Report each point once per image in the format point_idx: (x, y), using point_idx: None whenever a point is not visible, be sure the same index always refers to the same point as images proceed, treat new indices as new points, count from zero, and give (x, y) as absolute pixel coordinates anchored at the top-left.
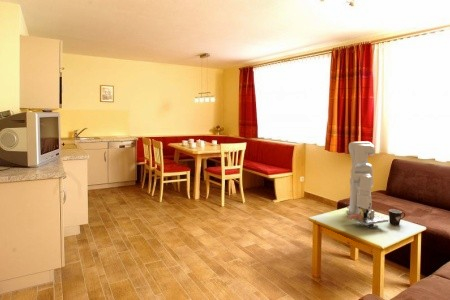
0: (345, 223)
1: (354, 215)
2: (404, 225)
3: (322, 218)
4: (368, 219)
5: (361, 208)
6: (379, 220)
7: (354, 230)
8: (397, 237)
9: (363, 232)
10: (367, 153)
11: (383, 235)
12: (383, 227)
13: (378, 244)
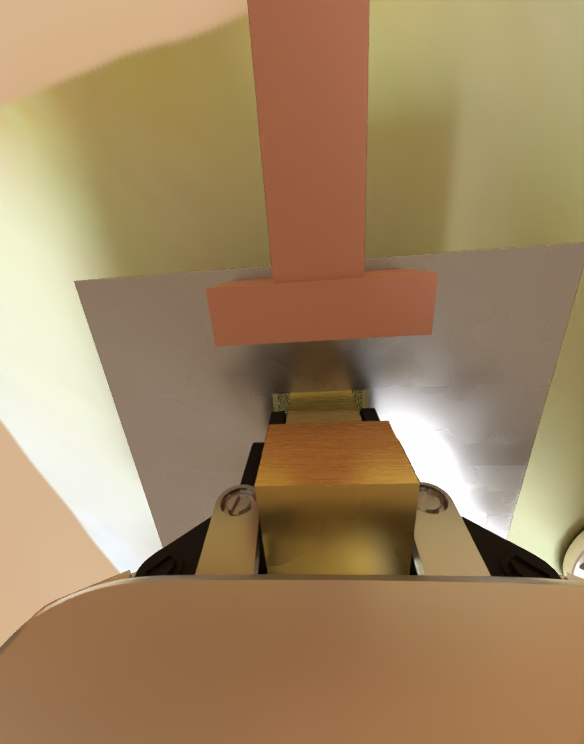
0: (493, 243)
1: (297, 182)
2: None
3: None
4: (231, 444)
5: (373, 558)
6: (172, 536)
7: (246, 188)
8: (45, 470)
9: (171, 260)
10: None
11: (84, 400)
12: None
13: None
